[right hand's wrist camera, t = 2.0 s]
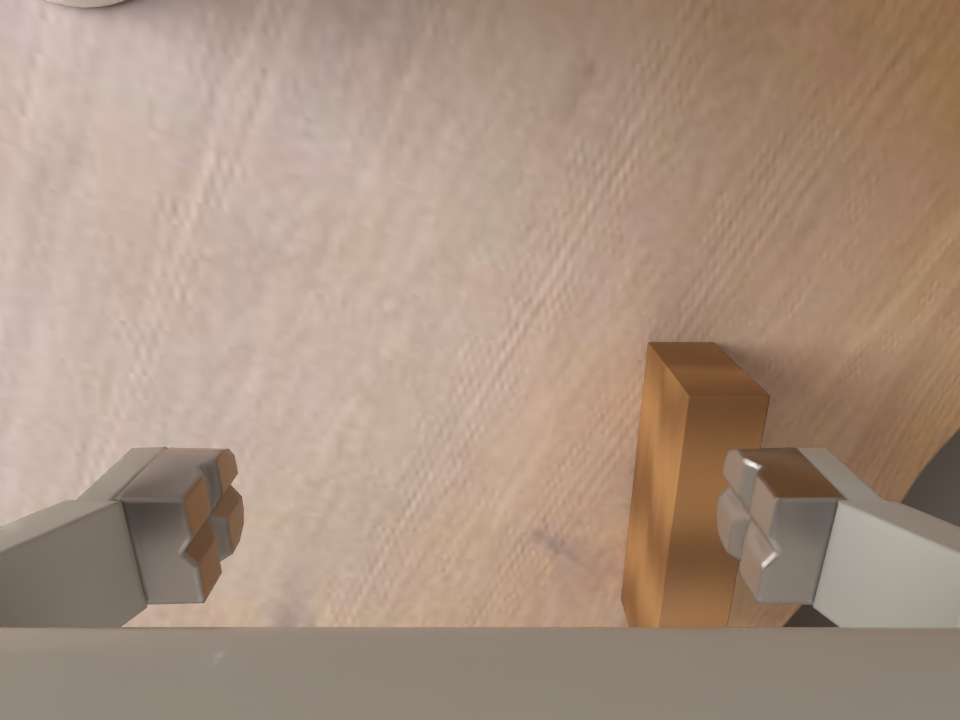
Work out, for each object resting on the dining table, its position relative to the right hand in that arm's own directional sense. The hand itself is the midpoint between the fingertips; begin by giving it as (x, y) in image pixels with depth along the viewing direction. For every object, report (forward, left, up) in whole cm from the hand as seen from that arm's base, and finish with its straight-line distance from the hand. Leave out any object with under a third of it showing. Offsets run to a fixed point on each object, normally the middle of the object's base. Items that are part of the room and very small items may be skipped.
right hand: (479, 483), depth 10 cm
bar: (+19, +14, -31) cm, 39 cm away
